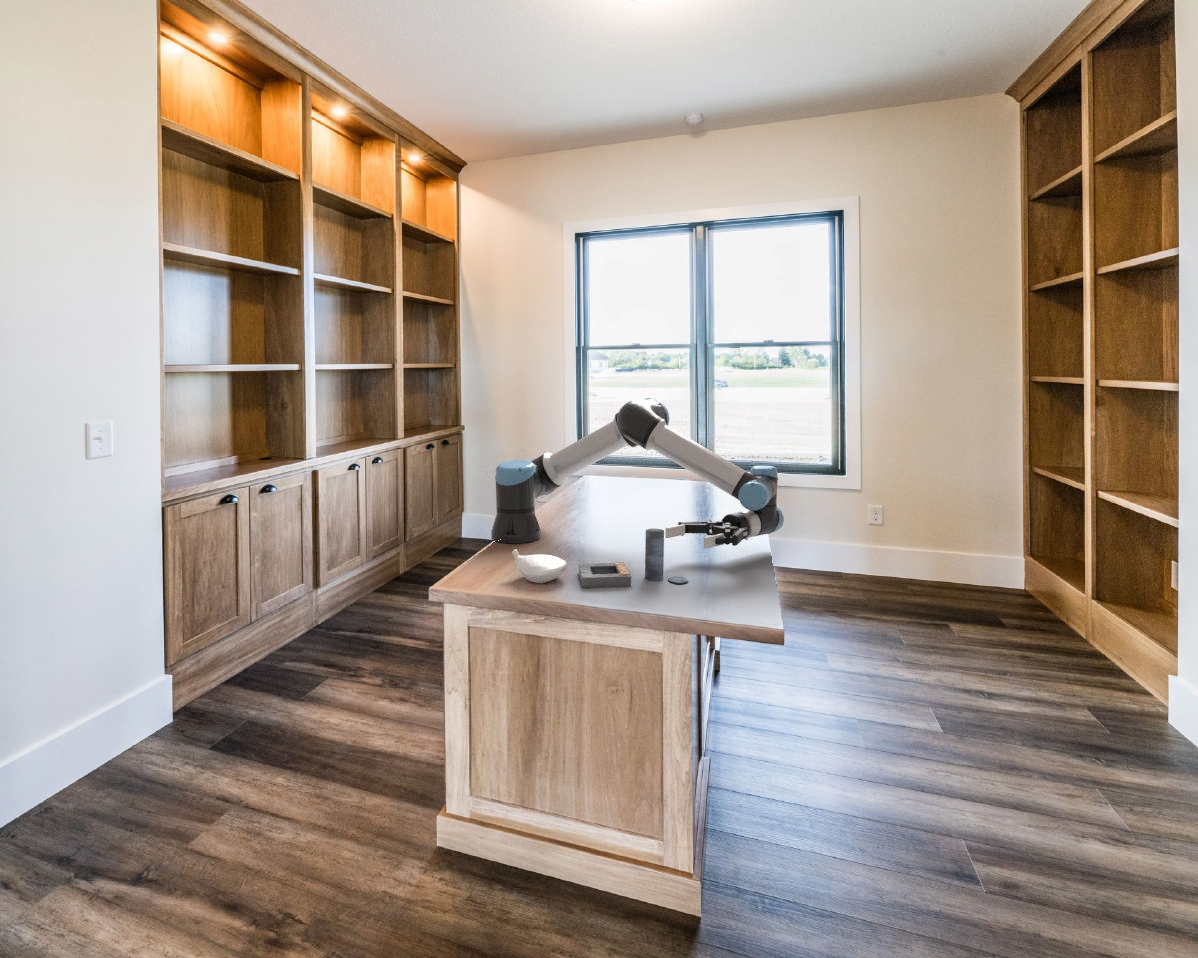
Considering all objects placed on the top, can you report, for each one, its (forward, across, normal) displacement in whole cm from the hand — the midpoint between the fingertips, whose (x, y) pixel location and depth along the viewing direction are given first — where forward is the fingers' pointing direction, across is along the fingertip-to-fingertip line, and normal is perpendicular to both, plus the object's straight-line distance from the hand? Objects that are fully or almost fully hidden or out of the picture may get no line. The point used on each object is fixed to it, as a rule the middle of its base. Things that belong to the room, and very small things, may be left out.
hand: (684, 537), depth 164 cm
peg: (+10, 0, -9) cm, 13 cm away
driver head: (+34, +16, -9) cm, 38 cm away
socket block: (+21, +7, -8) cm, 24 cm away
